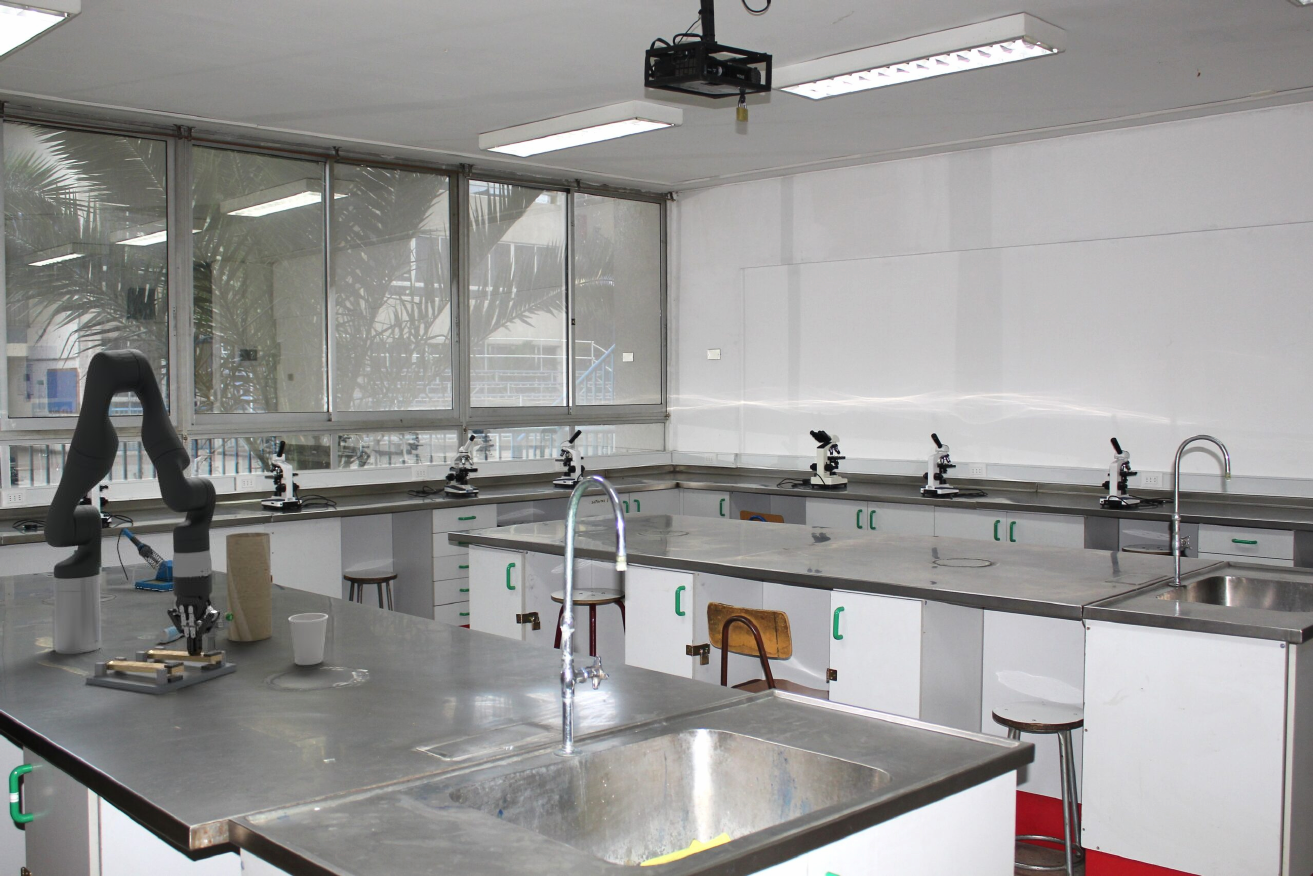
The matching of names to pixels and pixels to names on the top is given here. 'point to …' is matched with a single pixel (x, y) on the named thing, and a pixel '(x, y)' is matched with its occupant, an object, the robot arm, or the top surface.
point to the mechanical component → (211, 636)
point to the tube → (249, 586)
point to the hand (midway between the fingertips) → (194, 654)
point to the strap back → (185, 656)
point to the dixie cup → (308, 637)
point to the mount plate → (159, 674)
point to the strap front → (145, 666)
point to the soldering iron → (165, 567)
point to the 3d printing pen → (168, 635)
